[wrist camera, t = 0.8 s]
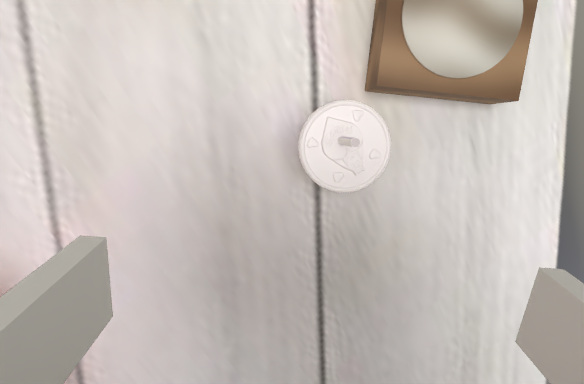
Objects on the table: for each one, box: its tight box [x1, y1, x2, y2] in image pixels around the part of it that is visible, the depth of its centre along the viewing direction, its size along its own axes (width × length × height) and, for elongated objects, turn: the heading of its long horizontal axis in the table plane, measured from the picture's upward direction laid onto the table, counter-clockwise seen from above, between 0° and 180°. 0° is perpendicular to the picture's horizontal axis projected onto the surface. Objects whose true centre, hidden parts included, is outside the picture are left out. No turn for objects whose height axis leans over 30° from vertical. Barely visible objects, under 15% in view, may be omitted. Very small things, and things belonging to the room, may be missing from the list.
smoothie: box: [298, 100, 391, 193], centre depth 27 cm, size 6×6×14 cm
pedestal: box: [365, 0, 538, 104], centre depth 31 cm, size 12×12×4 cm
